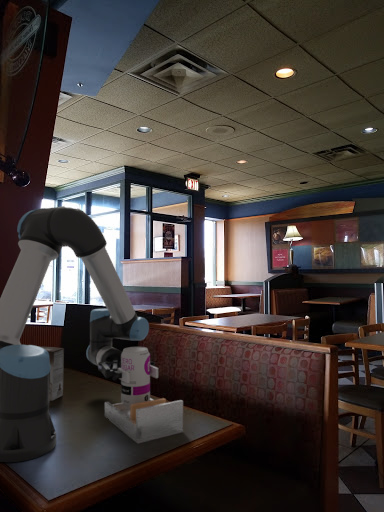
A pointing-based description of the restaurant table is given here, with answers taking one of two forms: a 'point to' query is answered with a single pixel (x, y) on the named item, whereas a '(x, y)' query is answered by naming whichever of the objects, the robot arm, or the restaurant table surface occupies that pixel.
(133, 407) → the plate
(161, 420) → the white drawer tray
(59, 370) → the coffee box
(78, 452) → the restaurant table surface
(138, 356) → the supplement can
